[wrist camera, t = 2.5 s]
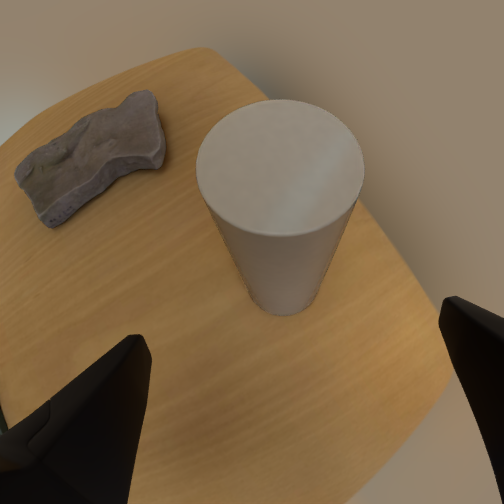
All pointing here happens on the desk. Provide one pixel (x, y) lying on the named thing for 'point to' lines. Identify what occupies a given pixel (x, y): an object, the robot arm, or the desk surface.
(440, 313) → the robot arm
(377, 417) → the desk surface
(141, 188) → the desk surface
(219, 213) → the white upright cylinder
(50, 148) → the stone
